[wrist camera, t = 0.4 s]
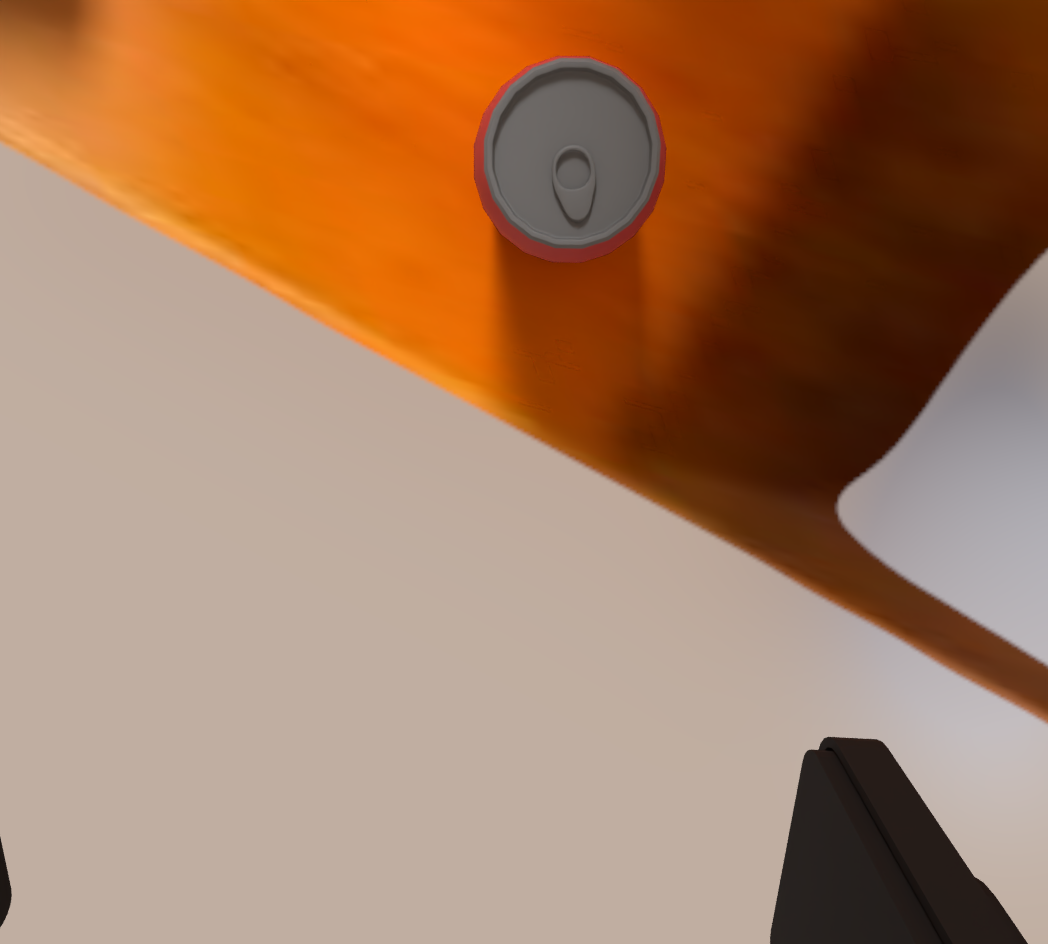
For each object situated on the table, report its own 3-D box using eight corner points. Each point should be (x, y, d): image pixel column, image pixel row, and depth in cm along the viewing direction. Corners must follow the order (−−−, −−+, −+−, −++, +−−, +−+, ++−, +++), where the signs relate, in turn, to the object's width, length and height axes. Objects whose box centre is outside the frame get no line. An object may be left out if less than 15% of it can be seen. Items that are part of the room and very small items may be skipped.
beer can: (502, 266, 36) (484, 279, 24) (481, 117, 34) (450, 56, 23) (639, 246, 35) (685, 249, 24) (625, 94, 34) (669, 19, 22)
